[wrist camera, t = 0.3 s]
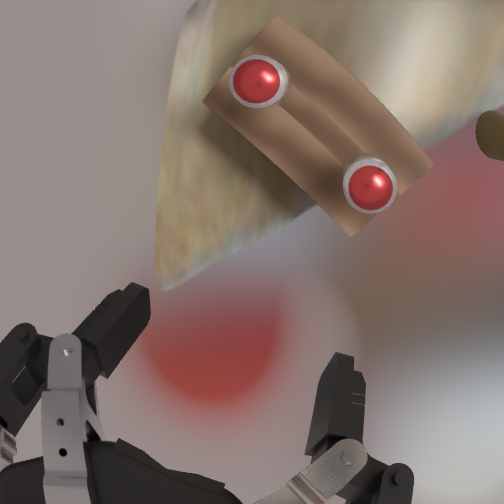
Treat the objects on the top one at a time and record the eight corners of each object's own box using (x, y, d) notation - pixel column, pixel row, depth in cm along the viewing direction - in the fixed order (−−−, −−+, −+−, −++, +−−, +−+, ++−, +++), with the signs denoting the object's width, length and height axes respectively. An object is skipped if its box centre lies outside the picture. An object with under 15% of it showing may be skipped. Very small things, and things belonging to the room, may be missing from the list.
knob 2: (363, 138, 26) (372, 149, 20) (393, 170, 26) (408, 191, 21) (332, 167, 28) (331, 186, 22) (362, 198, 29) (368, 225, 23)
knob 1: (270, 54, 24) (252, 43, 18) (305, 82, 25) (297, 78, 19) (241, 87, 26) (217, 85, 21) (275, 114, 27) (259, 119, 21)
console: (285, 25, 26) (276, 14, 21) (421, 155, 29) (434, 164, 25) (219, 100, 32) (202, 101, 28) (349, 219, 35) (350, 237, 31)
